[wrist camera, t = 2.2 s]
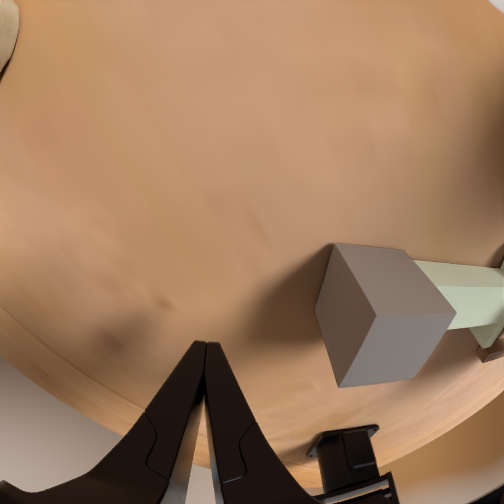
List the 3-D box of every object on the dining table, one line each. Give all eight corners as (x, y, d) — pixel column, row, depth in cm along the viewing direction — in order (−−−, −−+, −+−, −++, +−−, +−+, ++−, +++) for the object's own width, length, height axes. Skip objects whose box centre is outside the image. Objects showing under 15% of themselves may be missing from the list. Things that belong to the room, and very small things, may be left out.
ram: (476, 327, 17) (505, 369, 13) (305, 336, 16) (323, 411, 11) (520, 239, 13) (563, 276, 9) (344, 201, 12) (399, 261, 7)
